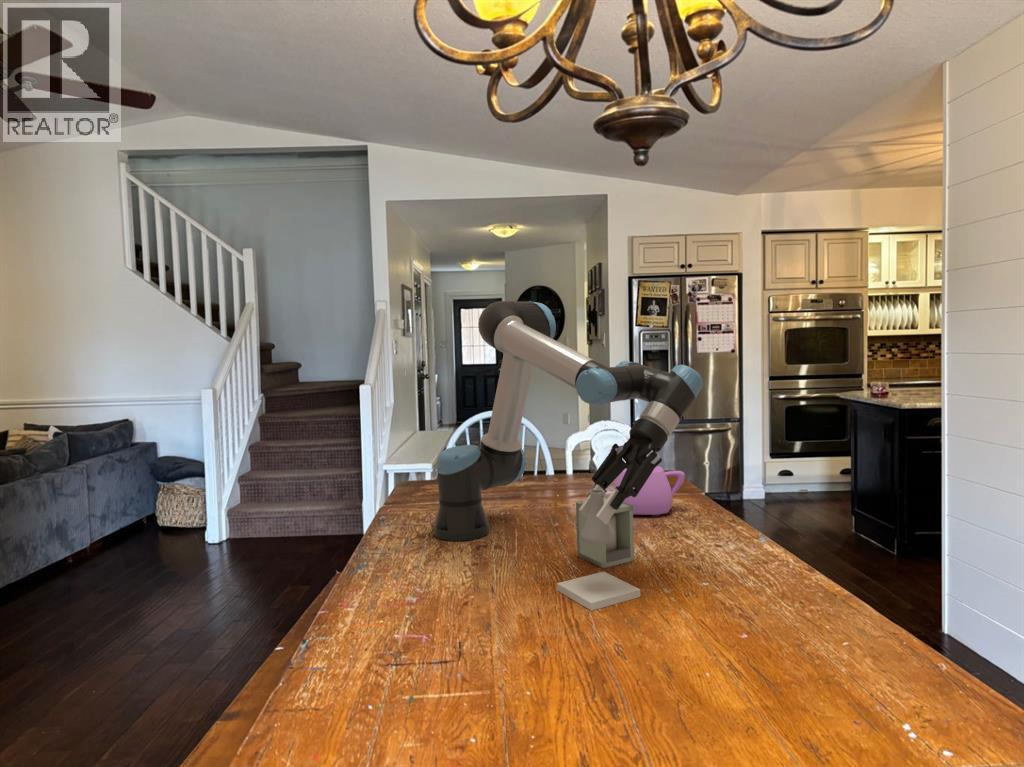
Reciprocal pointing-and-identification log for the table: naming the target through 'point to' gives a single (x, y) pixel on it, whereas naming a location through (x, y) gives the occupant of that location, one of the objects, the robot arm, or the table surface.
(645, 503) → the teapot
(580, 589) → the plate
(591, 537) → the flask
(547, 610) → the table surface
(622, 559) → the dispenser box
